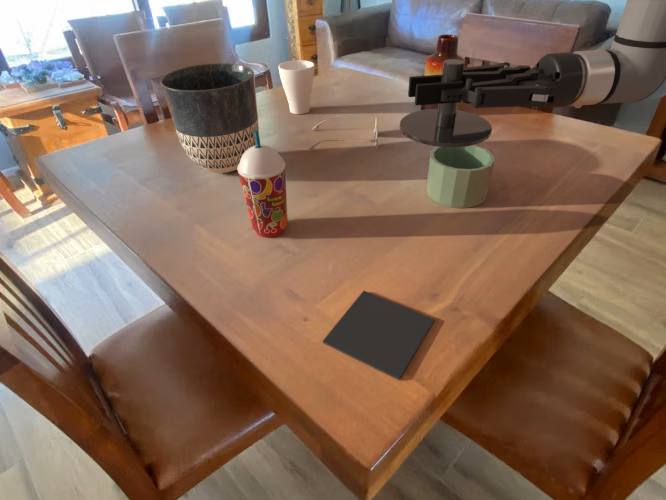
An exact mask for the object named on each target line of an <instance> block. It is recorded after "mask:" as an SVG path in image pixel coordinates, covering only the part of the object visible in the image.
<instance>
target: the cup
mask: <svg viewBox="0 0 666 500" xmlns="http://www.w3.org/2000/svg"><path fill="white" fill-rule="evenodd" d="M277 67H278V72H279V78H280V81H281V85H282V88H283V90H284V94H285V97H286V100H287V102H288V103H287V104H288V107H289V112H290V113H291V114H292V115H305V114H308V113H309V112H310V110H311V109H310V108H311V97H312V91H313V87H314V86H313V85H314V80H315V63H314V62H313V61H310V60H304V59H296V60H295V59H294V60H287V61H283V62H281V63H279V64H278V66H277Z"/></svg>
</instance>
